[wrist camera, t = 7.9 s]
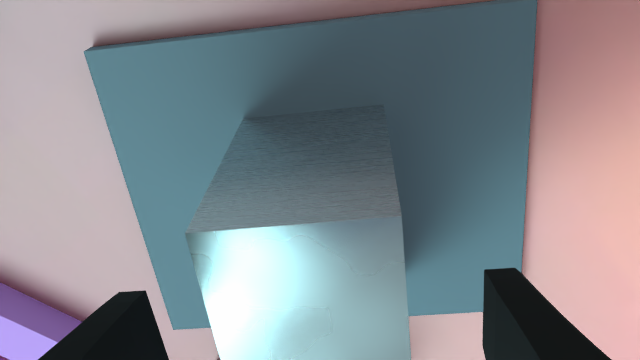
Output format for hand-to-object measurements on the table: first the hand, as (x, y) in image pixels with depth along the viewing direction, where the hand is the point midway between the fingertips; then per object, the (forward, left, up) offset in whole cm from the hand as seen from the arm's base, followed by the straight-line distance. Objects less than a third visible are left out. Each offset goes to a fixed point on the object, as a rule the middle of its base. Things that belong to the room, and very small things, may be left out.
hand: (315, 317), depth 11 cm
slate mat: (0, 0, -6) cm, 6 cm away
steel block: (0, 0, -6) cm, 6 cm away
